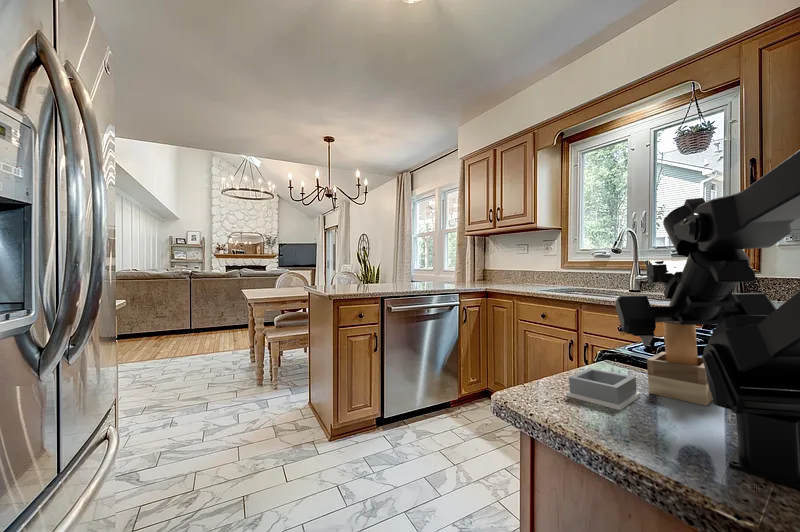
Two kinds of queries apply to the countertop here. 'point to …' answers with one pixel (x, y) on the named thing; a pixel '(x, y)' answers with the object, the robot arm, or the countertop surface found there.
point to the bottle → (680, 343)
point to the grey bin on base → (603, 388)
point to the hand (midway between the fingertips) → (676, 344)
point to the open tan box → (678, 380)
